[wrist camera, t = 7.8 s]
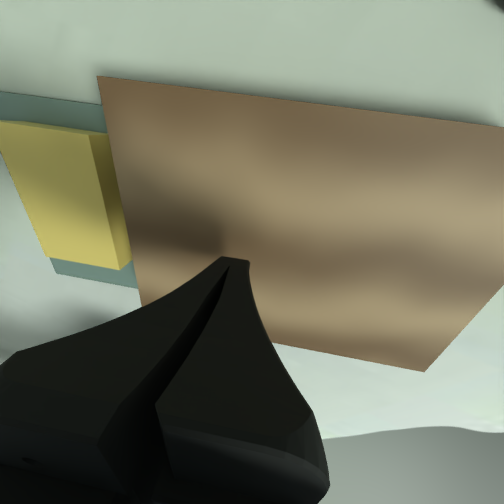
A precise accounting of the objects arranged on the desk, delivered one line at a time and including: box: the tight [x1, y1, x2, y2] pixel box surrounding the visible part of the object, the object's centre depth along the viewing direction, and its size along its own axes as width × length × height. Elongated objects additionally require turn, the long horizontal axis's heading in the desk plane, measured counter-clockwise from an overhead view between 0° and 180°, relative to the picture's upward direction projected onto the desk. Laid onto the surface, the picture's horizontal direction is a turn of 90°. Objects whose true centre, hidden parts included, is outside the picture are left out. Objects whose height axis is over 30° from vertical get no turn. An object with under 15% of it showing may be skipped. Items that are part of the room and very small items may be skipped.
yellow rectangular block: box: [0, 120, 133, 270], centre depth 15 cm, size 9×6×2 cm, turn 173°
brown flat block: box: [97, 76, 504, 372], centre depth 13 cm, size 14×20×4 cm
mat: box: [0, 92, 138, 289], centre depth 16 cm, size 14×11×1 cm
